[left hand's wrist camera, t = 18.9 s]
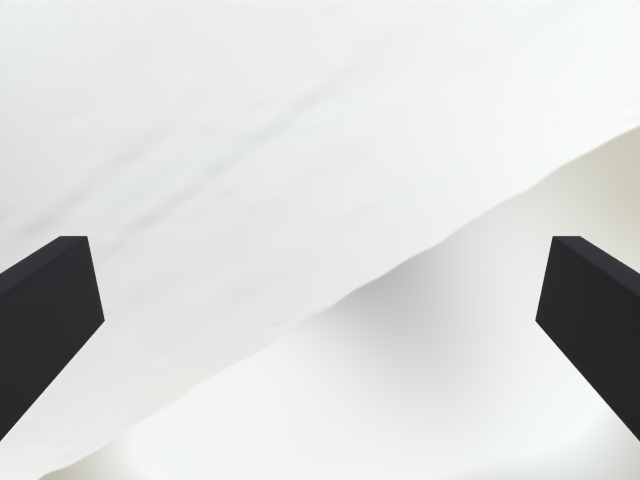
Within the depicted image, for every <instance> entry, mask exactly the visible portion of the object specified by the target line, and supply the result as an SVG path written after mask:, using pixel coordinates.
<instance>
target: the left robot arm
mask: <svg viewBox="0 0 640 480" xmlns="http://www.w3.org/2000/svg"><path fill="white" fill-rule="evenodd" d="M104 321H105V320H104V315H103V310H102V305H101V300H100V295H99V291H98V286H97V281H96V276H95V271H94V267H93V262H92V257H91V252H90V247H89V243H88V238H87V236H59V237H58V238H56V239H55V240H53V241H52V242H50V243H48V244H47V245H45V246H44V247H42V248H40V249H39V250H37V251H36V252H34V253H32V254H31V255H29V256H28V257H26V258H25V259H23V260H21V261H20V262H18V263H17V264H15V265H13V266H12V267H10V268H9V269H7V270H5V271H4V272H2V273H1V274H0V441H1V440H2V439H3V438H4V436H5V435H6V434H7V433H8V432H9V431H10V429H11V428H12V427H13V426H14V425H15V424H16V423H17V421H18V420H19V419H20V418H21V417H22V416H23V414H24V413H25V412H26V411H27V410H28V409H29V408H30V406H31V405H32V404H33V403H34V402H35V401H36V399H37V398H38V397H39V396H40V395H41V394H42V393H43V391H44V390H45V389H46V388H47V387H48V386H49V385H50V383H51V382H52V381H53V380H54V379H55V378H56V376H57V375H58V374H59V373H60V372H61V371H62V370H63V368H64V367H65V366H66V365H67V364H68V363H69V361H70V360H71V359H72V358H73V357H74V356H75V355H76V353H77V352H78V351H79V350H80V349H81V348H82V346H83V345H84V344H85V343H86V342H87V341H88V340H89V338H90V337H91V336H92V335H93V334H94V333H95V331H96V330H97V329H98V328H99V327H100V326H101V325H102V323H103V322H104ZM535 321H536V322H537V323H538V324H539V326H540V327H541V328H542V329H543V330H544V331H545V333H546V334H547V335H548V336H549V337H550V338H551V339H552V341H553V342H554V343H555V344H556V345H557V346H558V348H559V349H560V350H561V351H562V352H563V353H564V355H565V356H566V357H567V358H568V359H569V360H570V361H571V363H572V364H573V365H574V366H575V367H576V368H577V369H578V371H579V372H580V373H581V374H582V375H583V376H584V378H585V379H586V380H587V381H588V382H589V383H590V385H591V386H592V387H593V388H594V389H595V390H596V391H597V393H598V394H599V395H600V396H601V397H602V398H603V399H604V401H605V402H606V403H607V404H608V405H609V406H610V408H611V409H612V410H613V411H614V412H615V413H616V414H617V416H618V417H619V418H620V419H621V420H622V421H623V422H624V424H625V425H626V426H627V427H628V428H629V429H630V431H631V432H632V433H633V434H634V435H635V436H636V438H637V439H638V440H639V441H640V274H639V273H638V272H636V271H635V270H633V269H631V268H630V267H628V266H627V265H625V264H623V263H622V262H620V261H619V260H617V259H615V258H614V257H612V256H611V255H609V254H608V253H606V252H604V251H603V250H601V249H600V248H598V247H596V246H595V245H593V244H592V243H590V242H588V241H587V240H585V239H584V238H582V237H580V236H553V238H552V243H551V247H550V252H549V257H548V262H547V267H546V271H545V276H544V281H543V286H542V291H541V296H540V300H539V305H538V310H537V315H536V320H535Z"/></svg>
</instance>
